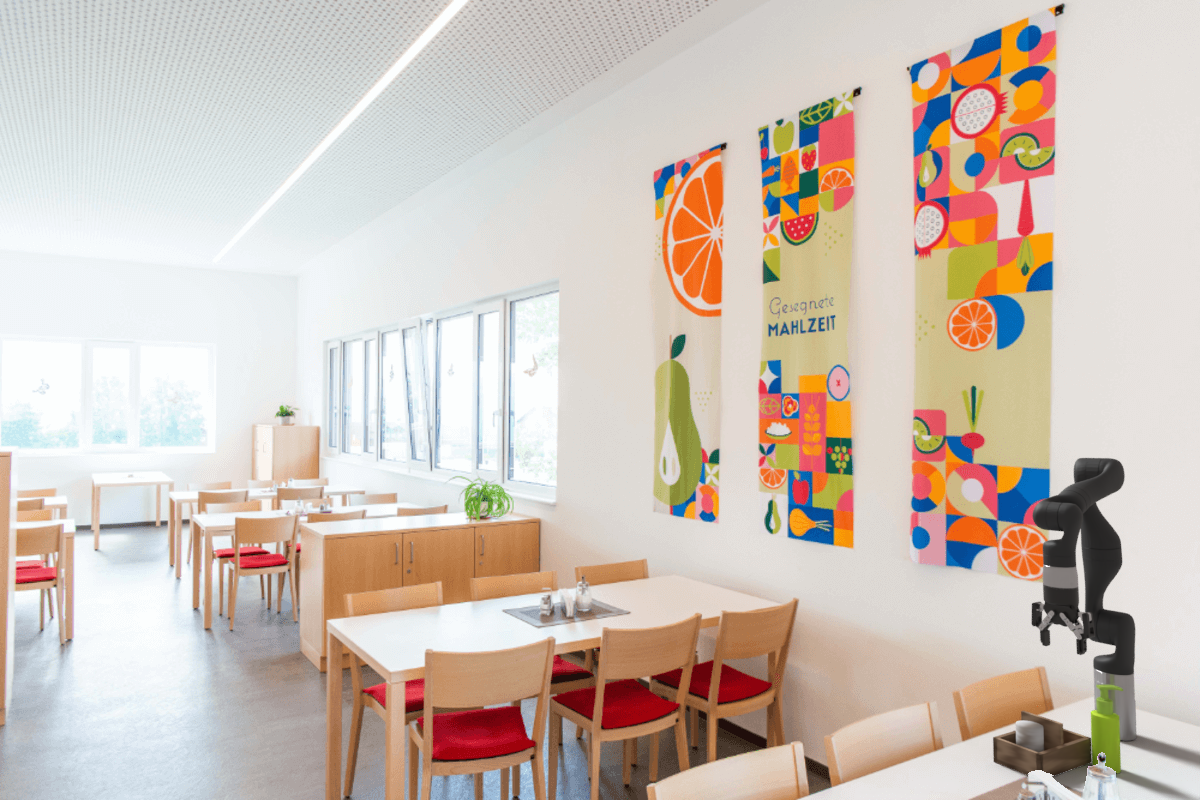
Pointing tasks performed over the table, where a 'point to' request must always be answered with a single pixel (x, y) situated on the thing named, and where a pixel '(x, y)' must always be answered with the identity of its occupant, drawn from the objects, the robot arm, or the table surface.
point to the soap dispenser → (1106, 730)
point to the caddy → (1041, 746)
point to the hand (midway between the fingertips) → (1063, 649)
